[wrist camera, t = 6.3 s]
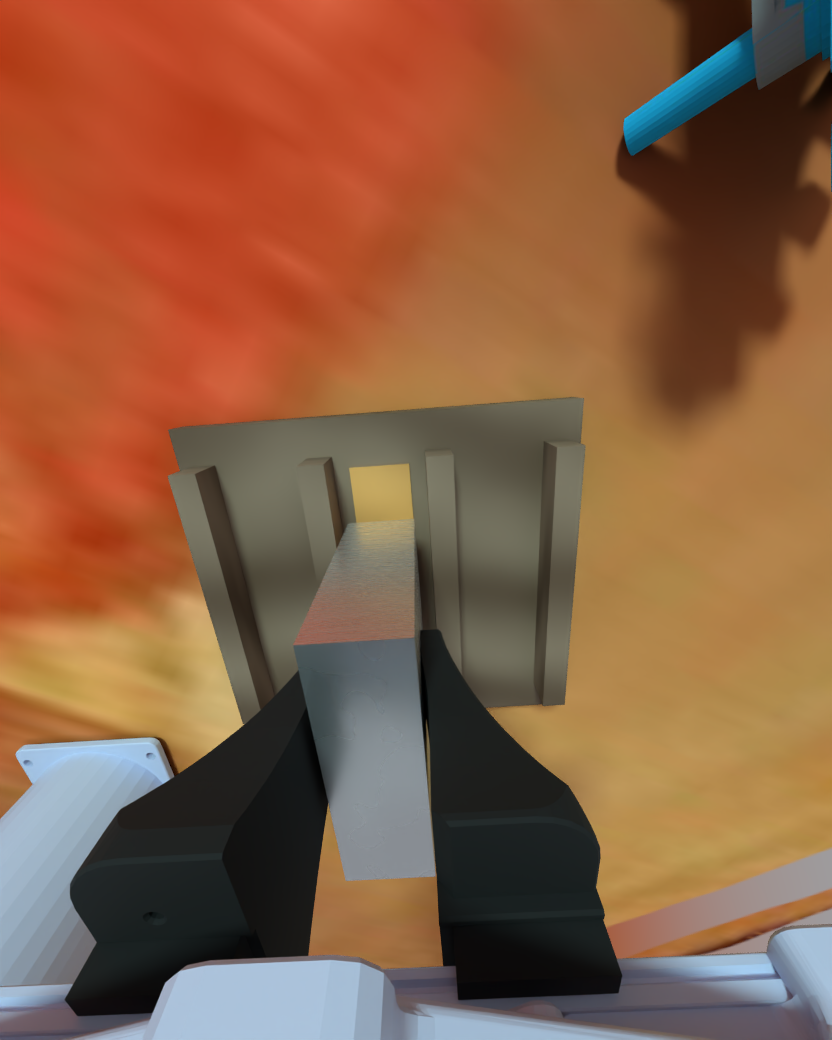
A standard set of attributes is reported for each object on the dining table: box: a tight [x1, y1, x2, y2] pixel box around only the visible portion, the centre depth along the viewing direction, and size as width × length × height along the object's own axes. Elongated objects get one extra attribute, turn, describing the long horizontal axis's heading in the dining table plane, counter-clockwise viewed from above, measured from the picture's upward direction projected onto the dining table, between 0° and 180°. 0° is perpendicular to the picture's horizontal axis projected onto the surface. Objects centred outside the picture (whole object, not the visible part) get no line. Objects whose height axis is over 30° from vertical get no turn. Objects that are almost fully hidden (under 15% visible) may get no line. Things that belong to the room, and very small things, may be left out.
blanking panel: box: [293, 519, 436, 881], centre depth 12 cm, size 8×2×7 cm, turn 4°
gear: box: [624, 0, 832, 192], centre depth 10 cm, size 11×6×10 cm
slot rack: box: [168, 397, 585, 724], centre depth 17 cm, size 15×16×3 cm
